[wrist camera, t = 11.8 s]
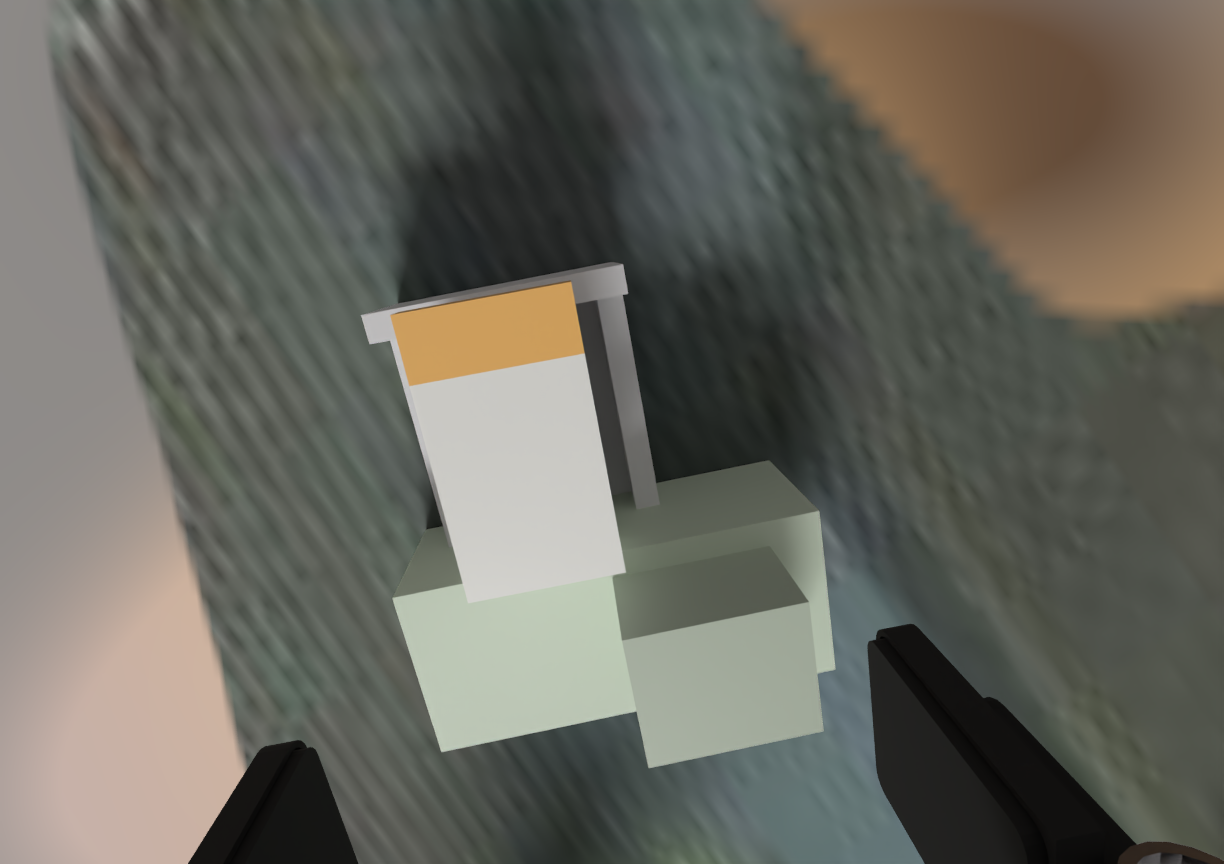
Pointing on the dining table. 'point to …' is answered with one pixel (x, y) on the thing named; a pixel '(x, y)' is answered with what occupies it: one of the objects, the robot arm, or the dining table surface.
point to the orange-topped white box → (512, 439)
